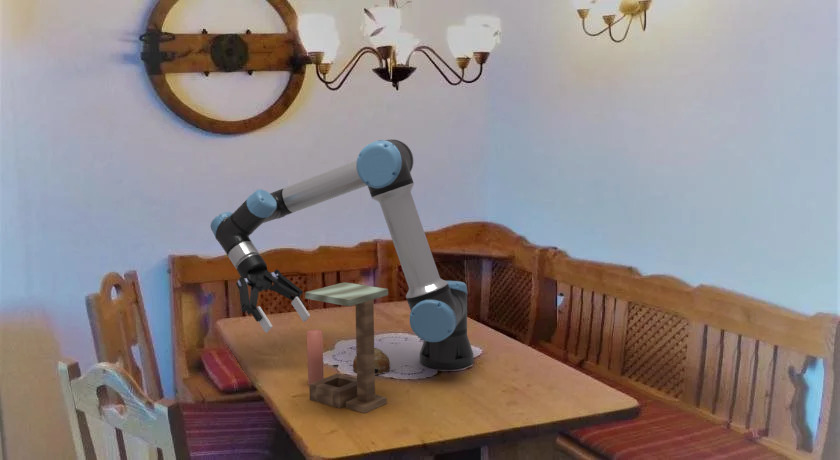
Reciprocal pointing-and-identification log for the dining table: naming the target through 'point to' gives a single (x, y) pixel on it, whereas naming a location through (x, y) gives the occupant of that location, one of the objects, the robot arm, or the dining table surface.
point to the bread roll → (377, 362)
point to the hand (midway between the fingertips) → (288, 324)
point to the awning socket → (362, 388)
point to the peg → (315, 355)
